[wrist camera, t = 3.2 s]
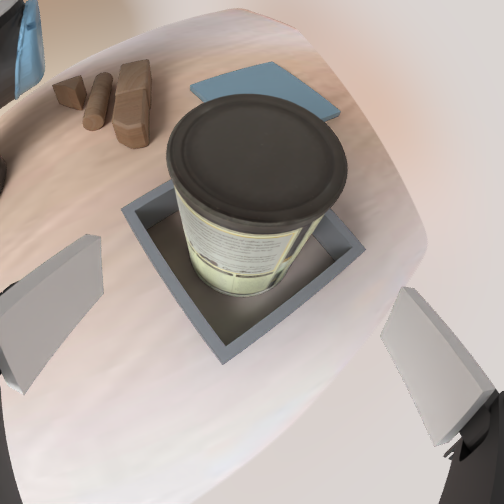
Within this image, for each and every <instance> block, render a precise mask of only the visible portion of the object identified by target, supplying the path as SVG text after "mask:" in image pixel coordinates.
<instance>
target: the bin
mask: <svg viewBox="0 0 504 504" xmlns="http://www.w3.org/2000/svg"><path fill="white" fill-rule="evenodd" d="M178 210H179V207H178V202H177V198H176V193H175V188H174V184H173V182H172V179H171V180H169V181H168V182H166V183H164V184H162V185H160V186H159V187H157V188H155V189H153V190H152V191H150V192H148V193H146V194H145V195H143V196H141V197H140V198H138V199H136V200H135V201H133V202H131V203H130V204H128V205H126V206H125V207H123V208H122V209H121V211H122V212H123V214H124V216H125V218H126V220H127V222H128V224H129V225H130V227H131V229H132V231H133V232H134V234H135V236H136V238H137V239H138V241H139V243H140V244H141V246H142V248H143V249H144V251H145V253H146V254H147V256H148V258H149V259H150V261H151V262H152V264H153V266H154V267H155V269H156V270H157V272H158V274H159V275H160V277H161V278H162V280H163V281H164V283H165V285H166V286H167V288H168V289H169V291H170V292H171V294H172V295H173V297H174V298H175V300H176V301H177V303H178V304H179V306H180V307H181V309H182V310H183V311H184V313H185V314H186V316H187V317H188V319H189V320H190V322H191V323H192V324H193V326H194V327H195V329H196V330H197V331H198V333H199V334H200V336H201V337H202V338H203V340H204V341H205V342H206V344H207V345H208V346H209V348H210V349H211V350H212V352H213V353H214V354H215V356H216V357H217V358H218V360H219V361H220V362H221V364H222V365H223V364H225V363H226V362H228V361H229V360H230V359H232V358H233V357H235V356H236V355H237V354H239V353H240V352H242V351H243V350H244V349H246V348H247V347H248V346H250V345H251V344H252V343H254V342H255V341H256V340H258V339H259V338H260V337H262V336H263V335H264V334H266V333H267V332H268V331H270V330H271V329H272V328H273V327H275V326H276V325H277V324H279V323H280V322H281V321H282V320H284V319H285V318H286V317H287V316H289V315H290V314H291V313H292V312H294V311H295V310H296V309H297V308H299V307H300V306H301V305H302V304H304V303H305V302H306V301H307V300H309V299H310V298H311V297H312V296H313V295H315V294H316V293H317V292H318V291H319V290H321V289H322V288H323V287H324V286H325V285H326V284H328V283H329V282H330V281H331V280H332V279H334V278H335V277H336V276H337V275H338V274H339V273H340V272H342V271H343V270H344V269H345V268H346V267H347V266H348V265H350V264H351V263H352V262H353V261H354V260H355V259H356V258H357V257H359V256H360V255H361V254H362V253H363V252H364V251H365V250H366V249H365V248H364V246H363V245H362V244H361V243H360V242H359V240H358V239H357V238H356V237H355V236H354V235H353V233H352V232H351V231H350V230H349V229H348V228H347V227H346V225H345V224H344V223H343V222H342V221H341V220H340V219H339V218H338V216H337V215H336V214H335V213H334V212H333V211H332V210H331V209H329V210H328V211H327V212H326V213H325V214H324V216H323V217H322V219H321V220H320V222H319V223H318V225H317V226H316V228H315V230H314V232H313V233H312V234H313V236H314V237H315V238H316V239H317V240H318V241H319V243H320V244H321V245H322V246H323V247H324V248H325V250H326V251H327V252H328V253H329V254H330V256H331V257H332V258H333V259H334V260H335V261H336V262H334V263H333V264H332V265H331V266H330V267H328V268H327V269H326V270H325V271H324V272H322V273H321V274H320V275H319V276H317V277H316V278H315V279H314V280H312V281H311V282H310V283H309V284H308V285H306V286H305V287H304V288H303V289H301V290H300V291H299V292H297V293H296V294H295V295H294V296H292V297H291V298H290V299H289V300H287V301H286V302H285V303H283V304H282V305H281V306H280V307H278V308H277V309H276V310H274V311H273V312H272V313H270V314H269V315H268V316H266V317H265V318H264V319H262V320H261V321H260V322H258V323H257V324H256V325H254V326H253V327H252V328H250V329H249V330H248V331H246V332H245V333H244V334H242V335H241V336H239V337H238V338H237V339H235V340H234V341H233V342H231V343H230V344H228V345H227V346H225V345H224V344H223V342H222V341H221V340H220V338H219V337H218V336H217V334H216V333H215V332H214V330H213V329H212V327H211V326H210V325H209V323H208V322H207V321H206V319H205V318H204V316H203V315H202V314H201V312H200V311H199V309H198V308H197V307H196V305H195V304H194V302H193V301H192V300H191V298H190V297H189V295H188V294H187V292H186V291H185V289H184V288H183V287H182V285H181V284H180V282H179V281H178V279H177V278H176V276H175V275H174V273H173V272H172V270H171V269H170V267H169V266H168V264H167V263H166V261H165V259H164V258H163V256H162V255H161V253H160V252H159V250H158V249H157V247H156V245H155V244H154V242H153V241H152V239H151V237H150V236H149V234H148V233H147V231H146V230H147V229H148V228H150V227H151V226H153V225H155V224H156V223H158V222H160V221H161V220H163V219H165V218H166V217H168V216H170V215H171V214H173V213H175V212H176V211H178Z"/></svg>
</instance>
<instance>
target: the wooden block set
mask: <svg viewBox="0 0 504 504" xmlns="http://www.w3.org/2000/svg"><path fill="white" fill-rule="evenodd" d="M151 82H152V79H151V71H150V63H149V60H147V59H146V60H141V61H136V62H131V63H127V64H123V65H121V69H120V73H119V78H118V82H117V87H116V92H115V97H116V98H115V104H114V110H113V116H112V124H113V127H114V130H115V133H116V136H117V139H118V141H119V142H120V143H122V144H124V145H126V146H128V147H130V148H132V149H136V148H141V147H146V146H147V145H148V144H149V109H150V108H151ZM112 83H113V77H112V75H111V74H110V73H107V72H103V73H100V74H99V75H97V76H96V78H95V80H94V83H93V86H92V90H91V93H90V96H89V99H88V103H87V106H86V110H85V113H84V117H83V121H82V124H83V126H84V128H85V129H87V130H89V131H94V130H98V129H100V128H101V127H102V126H103V125H104V121H105V116H106V110H107V105H108V101H109V96H110V91H111V87H112ZM52 86H53V89H54V91H55V94H56V96H57V99H58V101H59V103H60V104H62V105H65V106H67V107H70V108H73V109H76V110H82V109H83V106H84V102H85V99H86V96H87V93H86V89H85V86H84V83H83V80H82V77H81V75H80V76H77V77H74V78H71V79H68V80H65V81H62V82H60V83H57V84H54V85H52Z"/></svg>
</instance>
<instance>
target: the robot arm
mask: <svg viewBox="0 0 504 504" xmlns="http://www.w3.org/2000/svg"><path fill="white" fill-rule="evenodd" d="M44 72H45V60H44V48H43V39H42V30H41V20H40V12H39V7H38V1H37V0H28V1H26V3H24V2H23V0H0V109H1V108H2V107H3V106H5V105H6V104H8V103H9V102H11V101H12V100H14V99H15V100H16V99H18V98H19V96H20V95H22V94H23V93H24V92H26V91H27V90H29V89H30V88H32V87H33V86H35V85H37V84H38V83H39V82H40V81H41V79H42V77H43V75H44ZM5 177H6V163H5V161H4V159H3V158H2V157H1V155H0V192H1V190H2V187H3V184H4V181H5ZM103 294H104V289H103V276H102V258H101V237H100V236H95V235H89V234H86V235H84V236H83V237H81V238H79V239H78V240H76V241H75V242H73V243H72V244H70V245H69V246H67V247H66V248H64V249H63V250H61V251H60V252H59V253H57V254H56V255H54V256H53V257H51V258H50V259H48V260H47V261H46V262H44V263H43V264H41V265H40V266H39V267H37V268H36V269H35V270H33V271H32V272H31V273H29V274H28V275H27V276H25V277H24V278H23V279H21V280H20V281H17V282H15V283H13V284H11V285H10V286H9V287H7V288H6V289H5V290H4V291H3V293H2V292H1V293H0V375H1V373H2V375H3V377H4V379H5V381H6V383H7V384H8V386H9V387H11V388H13V389H14V390H16V391H18V392H19V393H21V394H23V395H25V393H26V392H27V390H28V389H29V387H30V386H31V384H32V383H33V382H34V380H35V379H36V377H37V376H38V375H39V373H40V372H41V371H42V369H43V368H44V366H45V365H46V364H47V362H48V361H49V360H50V358H51V357H52V356H53V354H54V353H55V352H56V351H57V349H58V348H59V347H60V345H61V344H62V343H63V342H64V340H65V339H66V338H67V337H68V335H69V334H70V333H71V332H72V330H73V329H74V328H75V327H76V325H77V324H78V323H79V322H80V321H81V319H82V318H83V317H84V316H85V315H86V313H87V312H88V311H89V310H90V309H91V308H92V306H93V305H94V304H95V303H96V302H97V301H98V299H99V298H100V297H101V296H102V295H103ZM380 337H381V339H382V341H383V343H384V345H385V347H386V348H387V350H388V352H389V354H390V355H391V358H392V359H393V361H394V364H395V365H396V367H397V369H398V371H399V373H400V375H401V377H402V379H403V381H404V383H405V385H406V387H407V389H408V391H409V393H410V395H411V397H412V399H413V401H414V403H415V405H416V407H417V410H418V412H419V414H420V416H421V418H422V420H423V423H424V425H425V427H426V429H427V431H428V434H429V435H430V438H431V440H432V443H433V445H434V447H435V446H438V445H442V444H445V443H448V442H450V441H451V440H452V439H453V438H454V436H456V435H457V434H458V433H459V432H460V434H461V436H462V437H461V438H460V439H459V440H458V441H457V442H456V443H455V444H454V445H453V446H452V447H451V448H450V449H449V450H448V451H447V452H446V453H445V454H444V457H447V456H448V455H449V454H450V453H451V452H454V454H453V455H452V456H451V457H449V459H450V460H452V462H451V466H450V470H449V473H448V477H447V480H446V483H445V487H444V490H443V493H442V495H441V498H440V501H439V504H504V391H502V392H501V393H500V394H499V393H498V391H497V390H496V389H495V387H494V385H493V384H492V382H491V381H490V380H489V378H488V377H487V375H486V374H485V373H484V371H483V370H482V369H481V367H480V366H479V365H478V363H477V362H476V361H475V360H474V358H473V357H472V355H471V354H470V353H469V352H468V351H467V349H466V348H465V347H464V345H463V344H462V343H461V342H460V340H459V339H458V338H457V337H456V335H454V333H453V332H452V331H451V329H450V328H449V327H448V326H447V325H446V323H445V322H444V321H443V320H442V319H441V318H440V317H439V315H438V314H437V313H436V312H435V311H434V310H433V309H432V307H431V306H430V305H429V304H428V303H427V302H426V301H425V299H424V298H423V297H422V296H421V295H420V294H419V293H418V292H417V291H416V290H415V289H414V288H408V287H401V289H400V292H399V294H398V297H397V299H396V302H395V304H394V306H393V309H392V311H391V313H390V315H389V318H388V320H387V322H386V324H385V326H384V329H383V331H382V333H381V335H380ZM0 504H23V503H22V500H21V497H20V494H19V491H18V488H17V484H16V481H15V477H14V473H13V469H12V465H11V461H10V456H9V452H8V447H7V441H6V435H5V429H4V421H3V413H2V402H1V388H0Z"/></svg>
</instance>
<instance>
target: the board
mask: <svg viewBox="0 0 504 504" xmlns="http://www.w3.org/2000/svg"><path fill="white" fill-rule="evenodd" d="M190 90H191V91H192V92H193V93H194V94H195V95H196V96H197V97H199V98H200V99H201V100H202V101H203V102H204V103H205V102H207V101H210V100H212V99H215V98H219V97H222V96H227V95H233V94H262V95H269V96H274V97H278V98H282V99H285V100H288V101H291V102H293V103H295V104H297V105H299V106H301V107H303V108H305V109H307V110H309V111H310V112H312V113H313V114H315V115H316V116H317V117H319V118H320V119H321V120H323V122H325V121H327V120H330V119H332V118H335V117H338V116H339V114H340V112H341V111H340V110H338V109H337V108H336V107H335V106H334V105H332V104H331V103H330V102H329V101H327V100H326V99H325V98H323V97H322V96H321V95H319V94H318V93H317V92H315V91H314V90H313V89H311V88H310V87H309V86H307V85H306V84H305V83H303V82H302V81H300V80H299V79H298V78H296V77H295V76H293V75H292V74H290V73H289V72H287V71H286V70H284V69H283V68H281V67H280V66H278V65H277V64H275V63H274V62H268V63H264V64H259V65H255V66H251V67H247V68H244V69H240V70H236V71H233V72H229V73H226V74H222V75H219V76H216V77H213V78H210V79H207V80H204V81H201V82H198V83H195V84H192V85H190Z"/></svg>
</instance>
